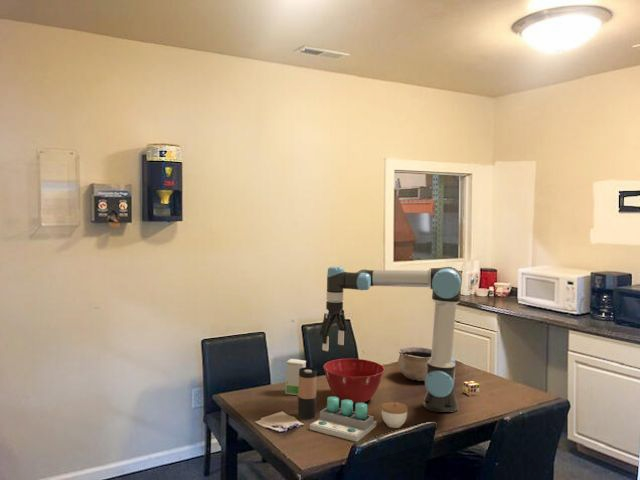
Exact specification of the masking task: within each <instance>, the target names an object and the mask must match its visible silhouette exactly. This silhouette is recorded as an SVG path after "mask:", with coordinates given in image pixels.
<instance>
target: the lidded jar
mask: <svg viewBox="0 0 640 480" xmlns="http://www.w3.org/2000/svg"><path fill="white" fill-rule="evenodd" d="M381 417H382V420H383V422H384V423H385V424H386V426H387V427H389V428H392V429H397V428H402V426H403V425H404V424H405V423H406V421H407V419H408V418H407V417H408V406H407V405H406V404H404V403H401V402H394V401H390V402H384V403H382V404H381Z"/></svg>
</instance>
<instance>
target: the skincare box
mask: <svg viewBox="0 0 640 480" xmlns="http://www.w3.org/2000/svg"><path fill="white" fill-rule="evenodd" d="M306 364H307V360H302V359H296V358H290V359H288V360H287V361H286V371H285V386H284V387H285V389H284V391H285V392H284V394H286V395H294V396H298V391H299V369H300V368H304V367H306V366H307V365H306Z"/></svg>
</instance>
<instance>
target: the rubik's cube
mask: <svg viewBox="0 0 640 480" xmlns="http://www.w3.org/2000/svg"><path fill="white" fill-rule="evenodd" d="M480 387H481V385H480V383H477V382H476V381H474V380H470V381H463V386H462V391H463V390H464V391H466V392H468V393H476V392H479V393H480Z"/></svg>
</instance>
